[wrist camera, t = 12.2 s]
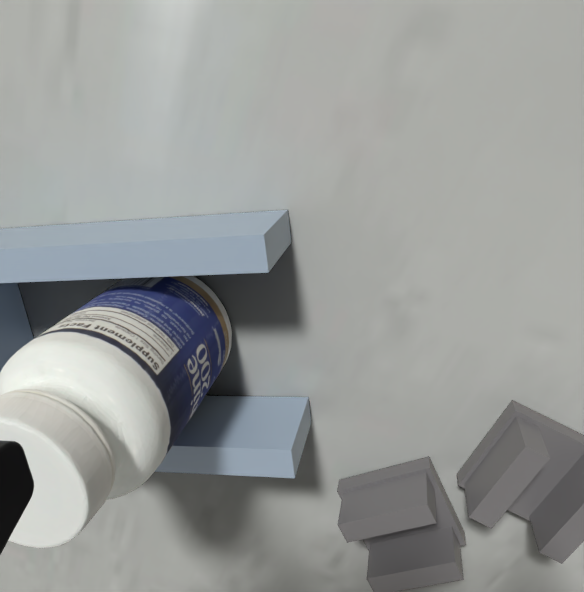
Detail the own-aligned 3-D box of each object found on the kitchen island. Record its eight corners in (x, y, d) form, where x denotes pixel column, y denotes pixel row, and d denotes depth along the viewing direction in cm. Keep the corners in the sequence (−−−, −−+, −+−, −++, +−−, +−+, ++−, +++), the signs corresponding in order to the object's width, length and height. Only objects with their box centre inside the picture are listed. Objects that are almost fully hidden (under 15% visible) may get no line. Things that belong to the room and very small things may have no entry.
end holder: (287, 209, 20) (263, 234, 16) (311, 422, 23) (294, 478, 19) (-24, 230, 23) (-96, 254, 19) (33, 416, 26) (-20, 463, 22)
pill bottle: (204, 405, 23) (78, 603, 15) (95, 344, 23) (-98, 504, 15) (257, 306, 21) (146, 468, 12) (136, 238, 21) (-62, 351, 12)
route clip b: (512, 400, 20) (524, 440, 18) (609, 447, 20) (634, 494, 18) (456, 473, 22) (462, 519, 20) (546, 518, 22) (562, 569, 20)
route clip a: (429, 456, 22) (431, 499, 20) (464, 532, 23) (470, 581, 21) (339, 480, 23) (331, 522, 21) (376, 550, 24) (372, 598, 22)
